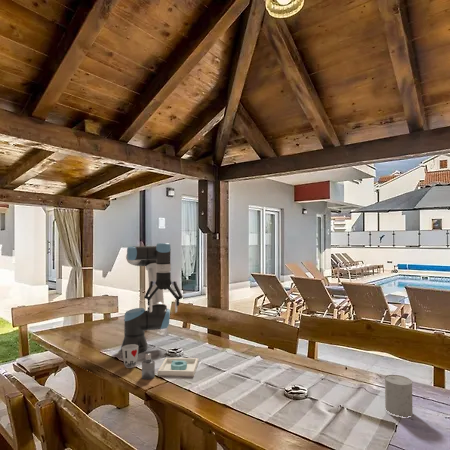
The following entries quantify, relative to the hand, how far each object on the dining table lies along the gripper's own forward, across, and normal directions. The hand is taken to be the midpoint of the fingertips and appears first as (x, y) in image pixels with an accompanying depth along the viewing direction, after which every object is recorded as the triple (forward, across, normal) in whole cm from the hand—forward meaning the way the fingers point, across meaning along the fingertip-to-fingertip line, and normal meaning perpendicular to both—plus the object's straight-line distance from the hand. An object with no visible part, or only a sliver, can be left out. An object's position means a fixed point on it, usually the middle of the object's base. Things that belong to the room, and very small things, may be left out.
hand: (163, 311), depth 188 cm
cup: (+27, -16, -6) cm, 32 cm away
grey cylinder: (+27, +102, -47) cm, 115 cm away
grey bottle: (+27, -3, -19) cm, 33 cm away
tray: (+27, +10, -9) cm, 30 cm away
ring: (+26, +10, -9) cm, 29 cm away
